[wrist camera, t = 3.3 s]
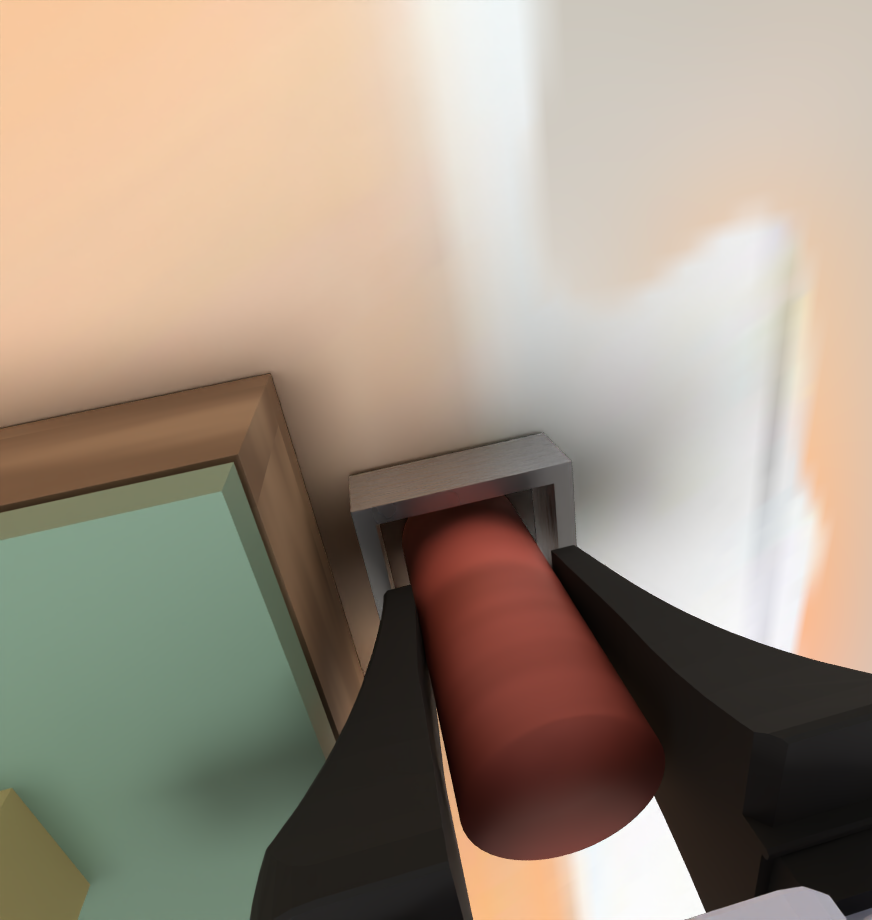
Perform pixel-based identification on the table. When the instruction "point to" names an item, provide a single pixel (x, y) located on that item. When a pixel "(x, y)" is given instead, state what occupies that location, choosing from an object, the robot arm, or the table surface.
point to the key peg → (523, 690)
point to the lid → (147, 704)
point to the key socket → (464, 495)
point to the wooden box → (192, 448)
